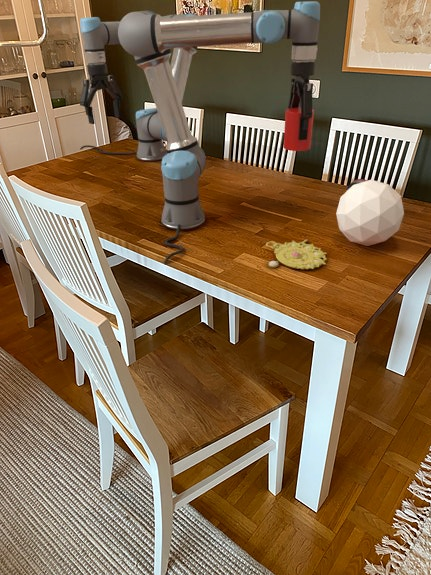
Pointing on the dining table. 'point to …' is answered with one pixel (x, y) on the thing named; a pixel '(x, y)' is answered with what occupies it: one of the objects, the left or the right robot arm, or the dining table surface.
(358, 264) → the dining table surface
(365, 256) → the dining table surface
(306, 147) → the canister
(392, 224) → the sphere
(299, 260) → the decorative object
